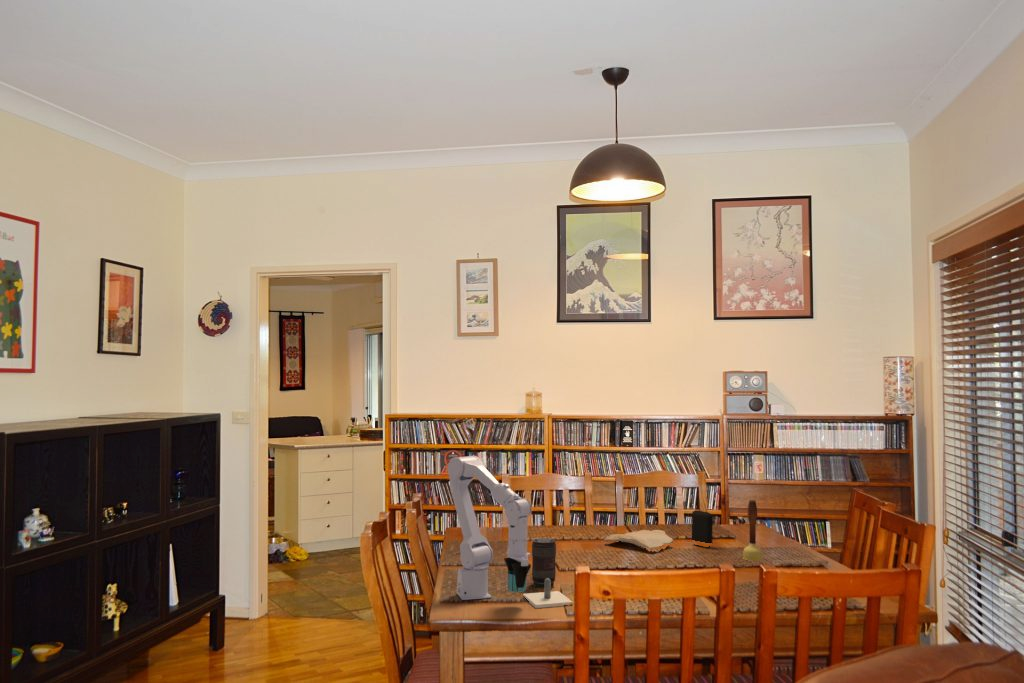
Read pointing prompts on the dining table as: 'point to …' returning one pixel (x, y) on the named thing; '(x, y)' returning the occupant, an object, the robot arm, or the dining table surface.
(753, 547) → the handbell
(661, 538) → the beige curved shard
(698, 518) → the carrying case or bag
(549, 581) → the white base with peg
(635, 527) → the dining table surface
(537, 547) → the camera lens
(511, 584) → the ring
